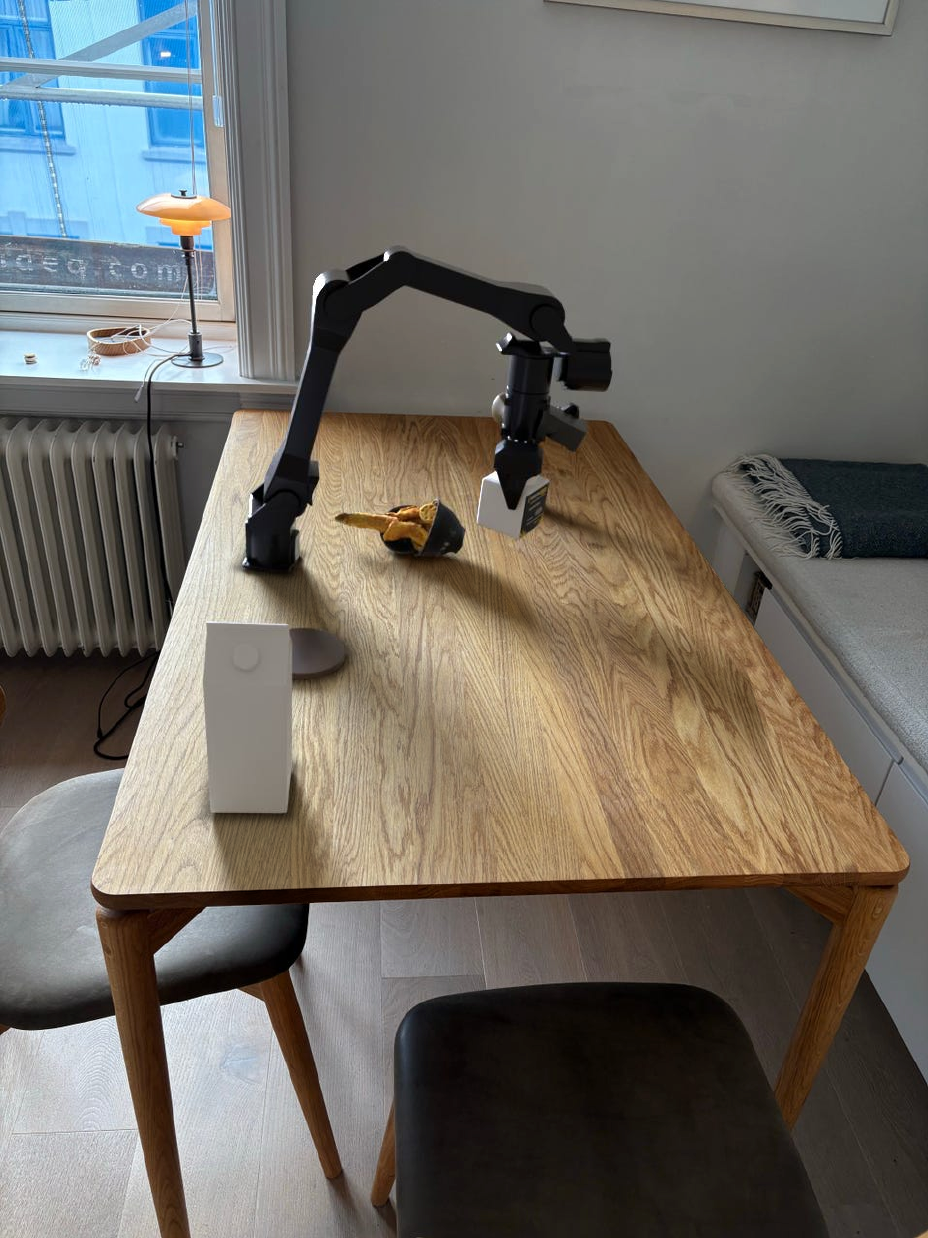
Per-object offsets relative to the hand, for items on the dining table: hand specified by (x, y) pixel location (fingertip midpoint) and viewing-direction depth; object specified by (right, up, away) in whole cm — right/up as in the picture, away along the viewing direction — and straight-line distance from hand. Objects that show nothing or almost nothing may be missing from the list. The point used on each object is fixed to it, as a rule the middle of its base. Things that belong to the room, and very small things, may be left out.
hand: (513, 496), depth 133 cm
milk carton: (-28, -34, -41) cm, 60 cm away
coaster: (-26, -21, -20) cm, 39 cm away
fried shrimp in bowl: (-16, -7, +6) cm, 19 cm away
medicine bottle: (-1, -4, +2) cm, 5 cm away
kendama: (0, +3, +26) cm, 27 cm away
